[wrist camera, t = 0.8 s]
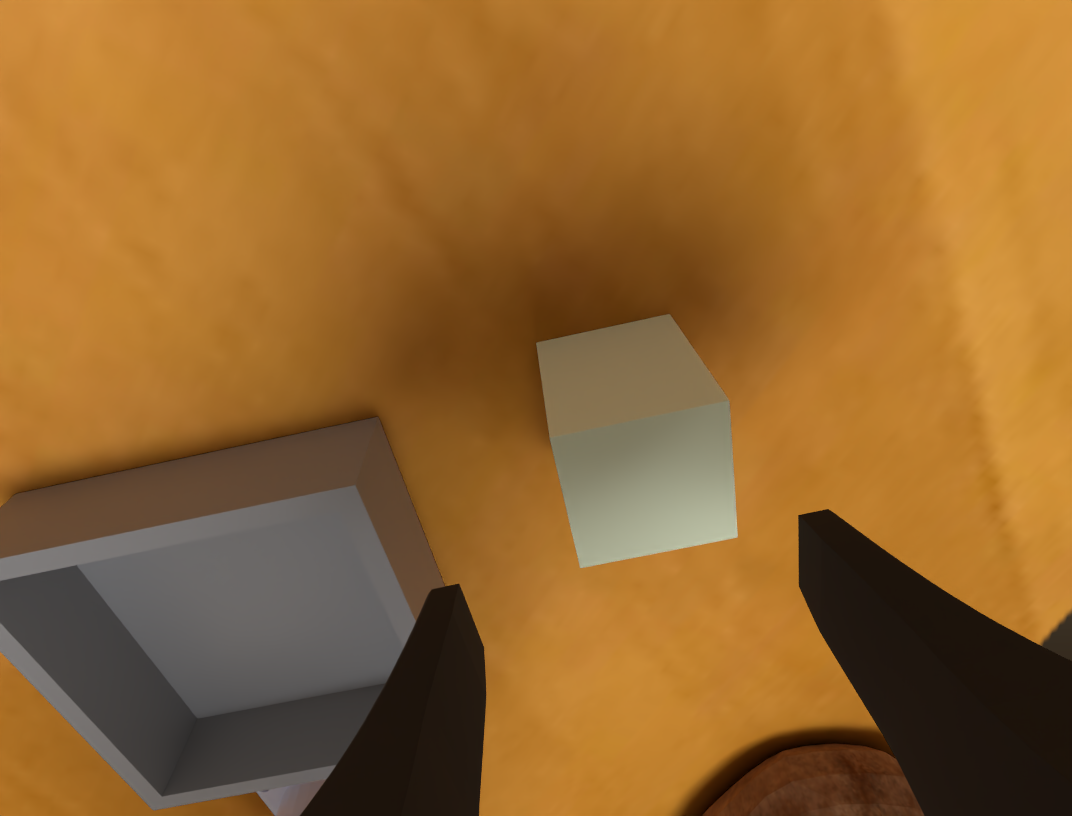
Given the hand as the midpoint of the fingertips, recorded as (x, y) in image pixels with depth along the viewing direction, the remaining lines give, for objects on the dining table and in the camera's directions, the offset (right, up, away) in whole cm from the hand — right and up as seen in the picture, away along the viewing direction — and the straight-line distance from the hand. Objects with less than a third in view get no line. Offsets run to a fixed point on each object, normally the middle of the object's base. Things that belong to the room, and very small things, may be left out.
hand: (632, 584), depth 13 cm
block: (+1, +5, +9) cm, 10 cm away
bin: (-13, -4, +12) cm, 18 cm away
